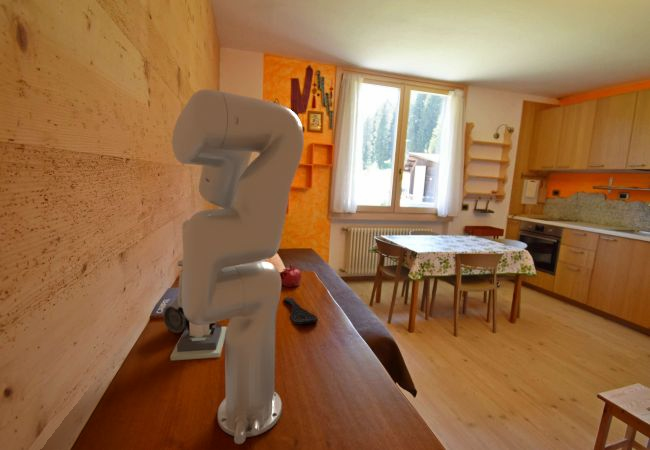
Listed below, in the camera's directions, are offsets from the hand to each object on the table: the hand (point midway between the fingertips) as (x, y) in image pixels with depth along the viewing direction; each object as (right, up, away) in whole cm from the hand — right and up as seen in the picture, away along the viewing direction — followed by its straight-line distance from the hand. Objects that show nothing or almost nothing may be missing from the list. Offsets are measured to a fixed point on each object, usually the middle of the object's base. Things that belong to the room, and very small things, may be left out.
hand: (201, 327), depth 84 cm
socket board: (0, -5, +1) cm, 5 cm away
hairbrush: (+25, -3, +23) cm, 34 cm away
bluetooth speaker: (-4, -3, +14) cm, 15 cm away
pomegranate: (+19, +2, +50) cm, 53 cm away
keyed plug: (0, -1, 0) cm, 1 cm away
